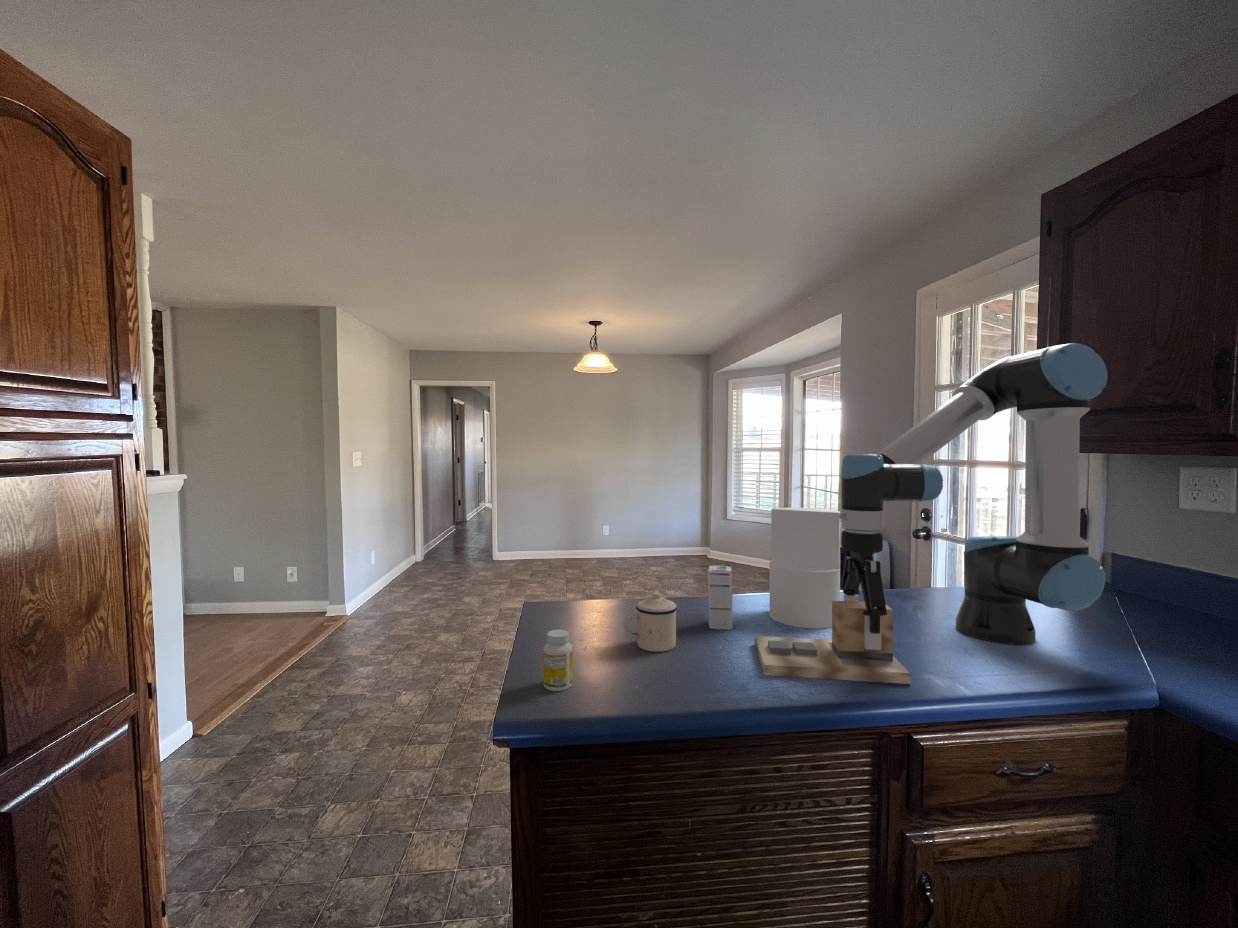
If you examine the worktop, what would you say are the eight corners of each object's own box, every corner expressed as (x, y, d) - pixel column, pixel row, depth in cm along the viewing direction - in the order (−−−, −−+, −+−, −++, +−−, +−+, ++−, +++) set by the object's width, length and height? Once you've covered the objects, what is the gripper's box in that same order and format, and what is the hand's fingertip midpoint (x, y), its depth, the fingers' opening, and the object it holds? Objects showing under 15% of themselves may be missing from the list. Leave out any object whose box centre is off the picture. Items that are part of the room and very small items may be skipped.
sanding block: (883, 651, 103) (883, 602, 102) (893, 660, 98) (893, 609, 98) (832, 648, 104) (832, 600, 104) (838, 657, 99) (838, 607, 99)
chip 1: (787, 647, 105) (787, 641, 105) (791, 654, 101) (791, 648, 101) (767, 646, 106) (767, 640, 106) (770, 653, 102) (770, 647, 102)
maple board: (879, 651, 108) (879, 641, 108) (910, 683, 92) (910, 672, 92) (754, 644, 112) (754, 635, 112) (764, 674, 96) (764, 664, 96)
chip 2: (812, 648, 104) (812, 642, 104) (817, 655, 100) (817, 649, 100) (792, 647, 105) (792, 641, 105) (796, 654, 101) (796, 648, 101)
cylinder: (781, 604, 143) (781, 506, 143) (846, 615, 133) (846, 509, 133) (760, 619, 129) (760, 511, 129) (830, 633, 119) (831, 515, 119)
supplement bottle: (557, 694, 88) (556, 640, 88) (537, 685, 92) (536, 633, 92) (578, 684, 92) (578, 632, 92) (558, 676, 96) (558, 626, 96)
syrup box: (732, 630, 121) (732, 570, 121) (707, 628, 123) (707, 569, 122) (732, 622, 127) (732, 565, 127) (708, 621, 128) (708, 564, 128)
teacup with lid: (668, 636, 117) (668, 586, 117) (683, 650, 109) (683, 596, 109) (618, 641, 114) (618, 590, 114) (630, 656, 105) (630, 601, 105)
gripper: (826, 522, 114) (825, 616, 114) (862, 539, 89) (861, 659, 89) (861, 523, 112) (861, 618, 113) (907, 541, 88) (906, 662, 88)
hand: (861, 636), depth 101 cm, fingers open, 13 cm apart
